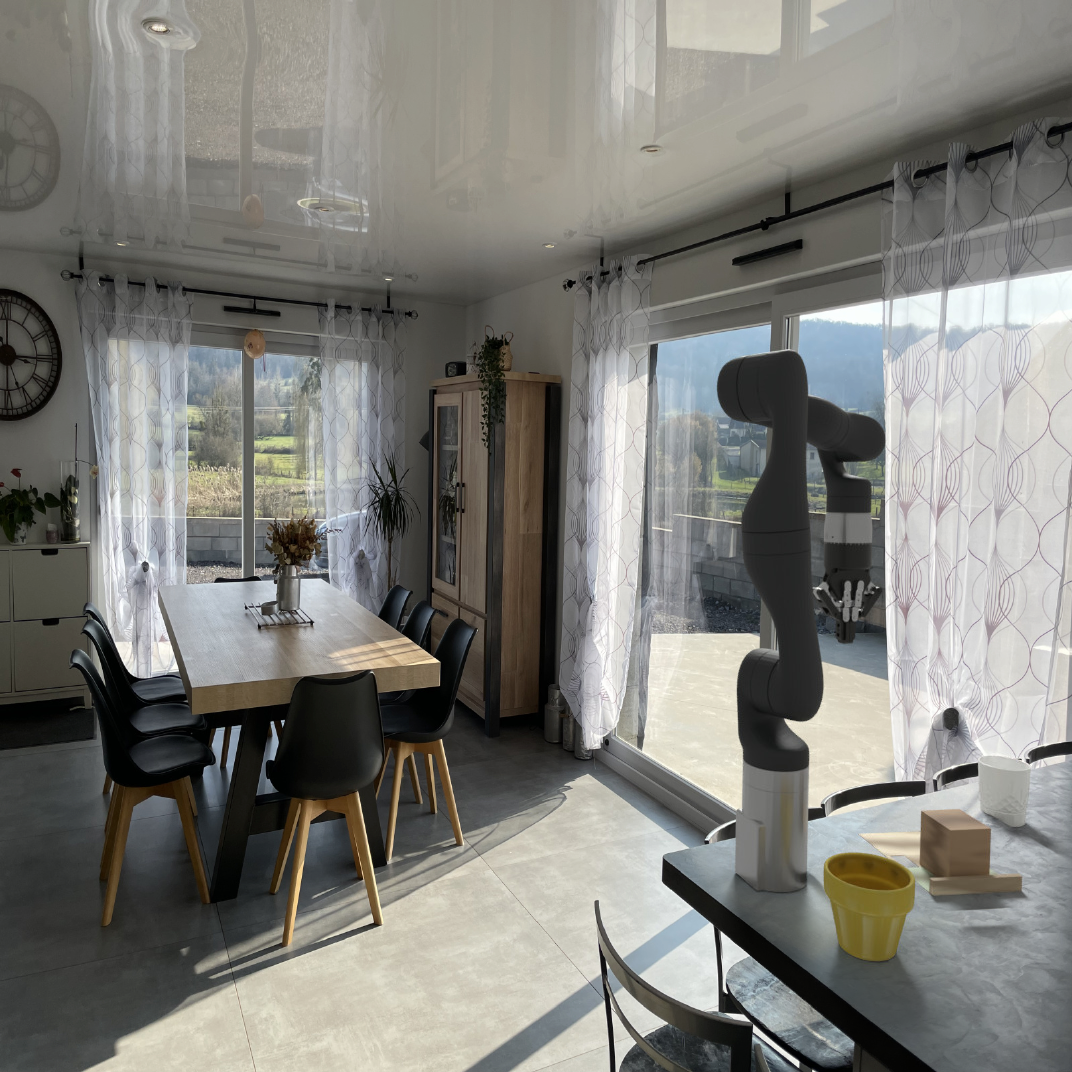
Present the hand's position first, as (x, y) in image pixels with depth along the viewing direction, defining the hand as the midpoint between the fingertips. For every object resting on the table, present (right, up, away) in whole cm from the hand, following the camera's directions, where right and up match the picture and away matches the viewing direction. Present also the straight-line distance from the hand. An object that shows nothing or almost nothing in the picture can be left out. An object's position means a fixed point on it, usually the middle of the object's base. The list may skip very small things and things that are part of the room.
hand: (845, 642), depth 136 cm
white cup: (+28, -31, +4) cm, 42 cm away
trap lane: (+7, -32, -15) cm, 36 cm away
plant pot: (-11, -33, -36) cm, 50 cm away
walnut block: (+8, -31, -20) cm, 37 cm away
